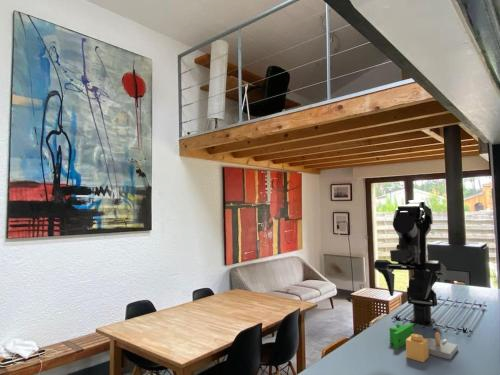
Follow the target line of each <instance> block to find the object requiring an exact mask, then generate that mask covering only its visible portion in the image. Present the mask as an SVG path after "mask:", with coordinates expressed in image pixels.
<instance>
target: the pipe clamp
mask: <svg viewBox="0 0 500 375" xmlns="http://www.w3.org/2000/svg"><path fill="white" fill-rule="evenodd" d="M411 334H415V330H414V324H413V323H407V324H406V325H403V324H400V323H396V326H395V327H389V342H390V343H391V344H393V348H394V349H396V350H398V349H400V348H402V347H403V346H406V339H407V338H408V337H410V336H411Z"/></svg>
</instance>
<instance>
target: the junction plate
mask: <svg viewBox="0 0 500 375" xmlns="http://www.w3.org/2000/svg"><path fill="white" fill-rule="evenodd" d="M434 337H435V338H430V337H426V339H428V350H429V355H431V356H435V357H439V358H442V359H445V360H452V358H453V356H455V355H456V353H457V352H458V351H459V347H458V344H457V343H456V344H455V343H451V342H448V340H447V339H446V338H444V339H443V340H441V332H438V331H435V333H434Z"/></svg>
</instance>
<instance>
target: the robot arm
mask: <svg viewBox="0 0 500 375" xmlns="http://www.w3.org/2000/svg"><path fill="white" fill-rule="evenodd" d="M394 211H395V212H394V215H393V219H392V220H393V221H392V227H393V230H394V232H396V234H397V236H398V244H396V248H394V249H389V254H390V255H389V256H390V260H388V259H375V260H374V262H373V269H375V270H376V271H377V272H378V273H380V274H382V275H383V278H384V280H385V283H386V285H387V288H388V292H389V295H390V296H391V297H394V293H395V292H394V291H395V274H394V273H393V272H394V270H395V271H413V275H412V276H411V278H410V279H409V280H408V286H406V295H407V303H408V304H409V305H412V310H413V311H412V313H413V314H412V316H413V317H412V318H410V320H409V321H410V322H411V323H417V324H421V325H425V326H431V325H432V324H433V323H434V322H435V321H436V319H434V318H432V308H435V307H437V306H438V299H437V293H436V292H435V290H434V289H435V288H433V286H434V285H435V284H436V281H437V280H438V279H442V276H447V267H446V265H444V264H443V263H442V262H441V261H440V260H428V259H427V236H428V235H429V233H430V231H431V230H432V225H433V224H434V223H433V222H434V220H433V219H434V218H433V213H432V209H431V208H430V207H429V206H428V205H426V203H425V200H422V199H416V200H414V199H413V200H412V199H411V200H408V204H398V206H397V208H395V210H394ZM393 262H394V263H393Z"/></svg>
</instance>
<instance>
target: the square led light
mask: <svg viewBox="0 0 500 375" xmlns="http://www.w3.org/2000/svg"><path fill="white" fill-rule="evenodd" d="M426 338H427V337H426ZM426 338H424V337H423V335H422V334H420V333H414V334H411V336H410V337H408V338H407V339H406V344H405V353H406V354H405V355H406V358H407V359H411V360H415V361H416V362H417V361H418V362H422V363H425V362H426V360H427V359H428V358H430V354H429V350H428V339H426Z"/></svg>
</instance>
